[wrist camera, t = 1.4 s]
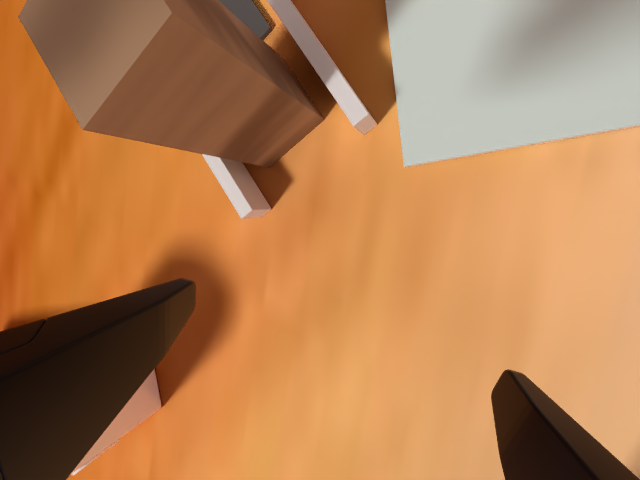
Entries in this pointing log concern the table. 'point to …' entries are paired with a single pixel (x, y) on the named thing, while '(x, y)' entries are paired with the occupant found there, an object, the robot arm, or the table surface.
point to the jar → (126, 419)
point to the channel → (242, 6)
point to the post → (172, 76)
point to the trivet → (511, 73)
